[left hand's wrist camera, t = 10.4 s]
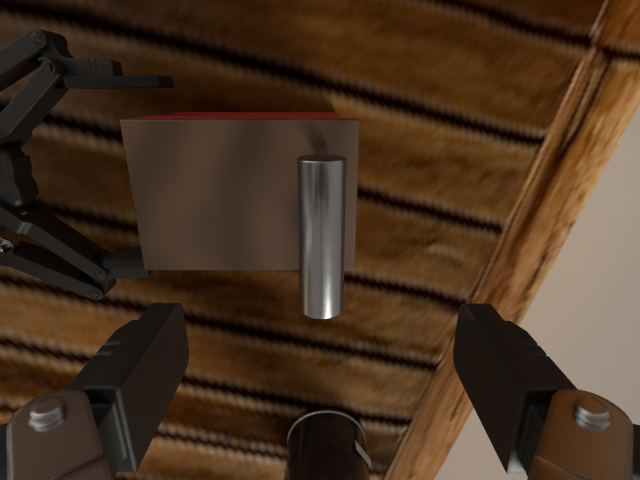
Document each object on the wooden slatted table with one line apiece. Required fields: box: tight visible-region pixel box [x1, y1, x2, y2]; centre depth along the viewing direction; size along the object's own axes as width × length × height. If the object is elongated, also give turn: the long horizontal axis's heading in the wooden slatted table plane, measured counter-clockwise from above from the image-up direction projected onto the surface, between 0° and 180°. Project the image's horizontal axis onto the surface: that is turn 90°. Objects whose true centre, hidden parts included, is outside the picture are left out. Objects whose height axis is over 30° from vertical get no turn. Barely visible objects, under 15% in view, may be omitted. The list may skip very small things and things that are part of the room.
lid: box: [120, 119, 359, 319], centre depth 22 cm, size 15×10×10 cm
